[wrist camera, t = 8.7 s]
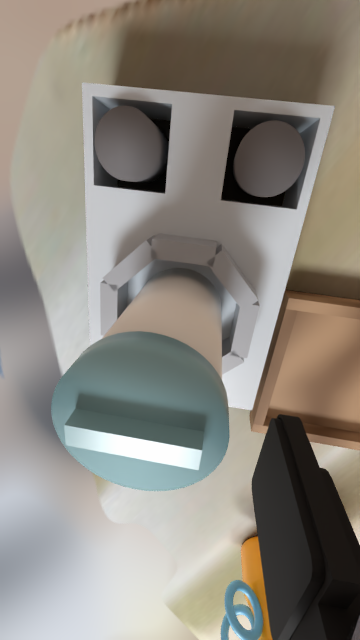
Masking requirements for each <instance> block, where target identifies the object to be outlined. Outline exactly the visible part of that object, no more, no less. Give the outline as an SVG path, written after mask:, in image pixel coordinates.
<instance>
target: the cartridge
mask: <svg viewBox="0 0 360 640" xmlns="http://www.w3.org/2000/svg"><path fill="white" fill-rule="evenodd" d="M51 410H52V419H53V423H54V426H55V429H56V432H57V434H58V436H59V438H60V440H61V442H62V443H63V445H64V446H65V447H66V449H67V450H68V451H69V453H70V454H71V455H72V456H73V457H74V458H75V459H76V460H77V461H78V462H79V463H81V464H82V465H83V466H84V467H86V468H87V469H88V470H90V471H91V472H93V473H94V474H96V475H98V476H100V477H102V478H103V479H106V480H108V481H110V482H112V483H115V484H118V485H121V486H124V487H128V488H132V489H138V490H144V491H168V490H175V489H179V488H184V487H187V486H189V485H192V484H194V483H196V482H198V481H200V480H202V479H204V478H205V477H207V476H208V475H209V474H210V473H211V472H213V471H214V470H215V469H216V468H217V466H218V465H219V464H220V462H221V461H222V459H223V457H224V455H225V453H226V450H227V447H228V443H229V411H228V397H227V392H226V389H225V386H224V384H223V381H222V313H221V300H220V297H219V294H218V292H217V290H216V288H215V287H214V285H213V284H212V283H211V282H210V280H208V279H207V278H206V277H205V276H203V275H202V274H200V273H198V272H196V271H194V270H191V269H186V268H171V269H167V270H164V271H161V272H159V273H157V274H156V275H154V276H153V277H152V278H151V279H150V280H149V281H148V282H147V283H146V285H145V286H144V287H143V288H142V289H141V291H140V292H139V293H138V294H137V296H136V297H135V298H134V299H133V301H132V302H131V303H130V304H129V306H128V307H127V308H126V309H125V311H124V312H123V313H122V314H121V316H120V317H119V318H118V319H117V321H116V322H115V323H114V324H113V325H112V327H111V328H110V329H109V330H108V332H107V333H106V334H105V335H104V337H103V338H102V339H101V340H98V341H97V342H95V343H94V344H92V345H91V346H89V347H88V348H87V349H86V350H85V351H84V352H83V353H82V354H81V355H80V357H79V358H78V359H77V360H76V361H75V362H74V364H73V365H72V366H71V367H70V368H69V369H68V371H67V372H66V373H65V374H64V375H63V377H62V378H61V379H60V381H59V382H58V384H57V386H56V388H55V391H54V394H53V398H52V405H51Z"/></svg>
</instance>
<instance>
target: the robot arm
mask: <svg viewBox="0 0 360 640" xmlns="http://www.w3.org/2000/svg"><path fill="white" fill-rule="evenodd" d="M252 495H253V503H254V510H255V518H256V525H257V533H258V541H259V548H260V556H261V563H262V571H263V578H264V586H265V594H266V601H267V609H268V616H269V624H270V631H271V636H272V639H273V640H360V545H359V543H358V540H357V538H356V535H355V533H354V531H353V528H352V526H351V523H350V521H349V519H348V516H347V514H346V511H345V509H344V507H343V504H342V502H341V499H340V497H339V495H338V492H337V490H336V487H335V485H334V482H333V480H332V478H331V476H330V474H329V472H328V471H327V470H326V469H323V468H319V465H318V462H317V460H316V457H315V455H314V452H313V450H312V447H311V444H310V442H309V439H308V437H307V434H306V432H305V429H304V426H303V424H302V421H301V419H300V418H299V417H295V416H289V415H282V414H279V415H278V416H277V418H272V419H271V420H270V423H269V426H268V430H267V433H266V436H265V439H264V442H263V446H262V449H261V452H260V455H259V459H258V462H257V465H256V468H255V471H254V475H253V478H252Z"/></svg>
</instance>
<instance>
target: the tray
mask: <svg viewBox="0 0 360 640" xmlns="http://www.w3.org/2000/svg"><path fill="white" fill-rule="evenodd" d="M279 414H282V415H289V416H295V417H299V418H300V419H301V421H302V424H303V426H304V429H305V432H306V434H307V437H308V439H309V441H310V442H315V443H321V444H327V445H332V446H338V447H344V448H349V449H355V450H360V300H354V299H347V298H340V297H333V296H326V295H318V294H311V293H304V292H297V291H290V290H285V292H284V295H283V299H282V303H281V306H280V310H279V314H278V317H277V321H276V325H275V328H274V332H273V336H272V339H271V343H270V347H269V350H268V354H267V357H266V361H265V365H264V368H263V372H262V376H261V379H260V383H259V387H258V390H257V394H256V398H255V401H254V405H253V409H252V410H251V412H250V424H251V431H253V432H259V433H264V434H266V433H267V430H268V426H269V423H270V420H271V419H272V418H277V416H278V415H279Z"/></svg>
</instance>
